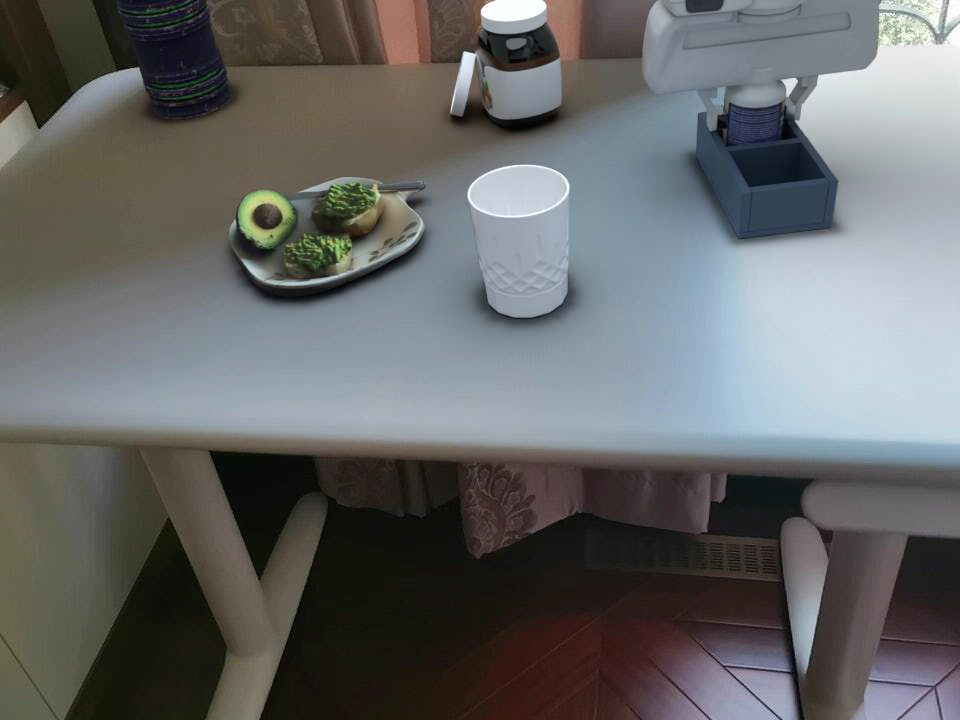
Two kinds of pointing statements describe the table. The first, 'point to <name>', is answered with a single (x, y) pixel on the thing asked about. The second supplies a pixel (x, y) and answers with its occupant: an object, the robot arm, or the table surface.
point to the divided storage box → (768, 182)
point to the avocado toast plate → (323, 233)
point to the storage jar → (177, 56)
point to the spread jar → (513, 65)
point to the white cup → (522, 237)
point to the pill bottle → (754, 110)
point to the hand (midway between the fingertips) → (752, 123)
